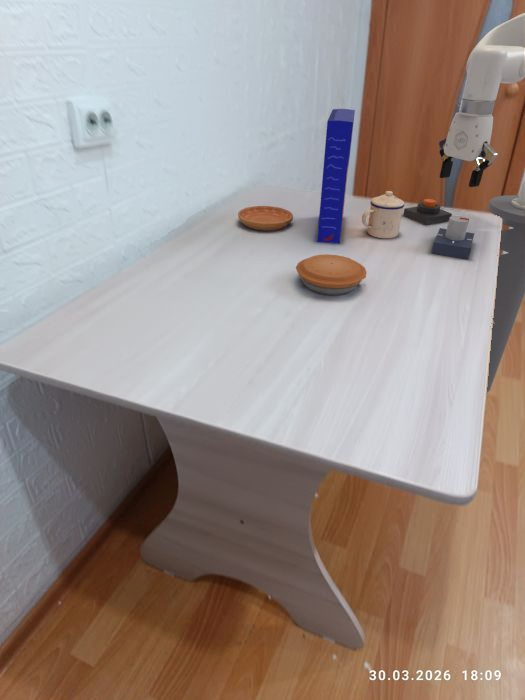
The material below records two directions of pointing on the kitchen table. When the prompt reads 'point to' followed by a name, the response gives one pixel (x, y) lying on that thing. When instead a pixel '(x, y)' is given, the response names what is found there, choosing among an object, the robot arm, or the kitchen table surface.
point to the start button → (429, 203)
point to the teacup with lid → (384, 216)
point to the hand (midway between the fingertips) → (458, 181)
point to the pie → (330, 274)
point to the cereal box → (335, 174)
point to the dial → (457, 228)
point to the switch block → (427, 214)
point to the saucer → (265, 217)
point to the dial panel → (452, 245)
